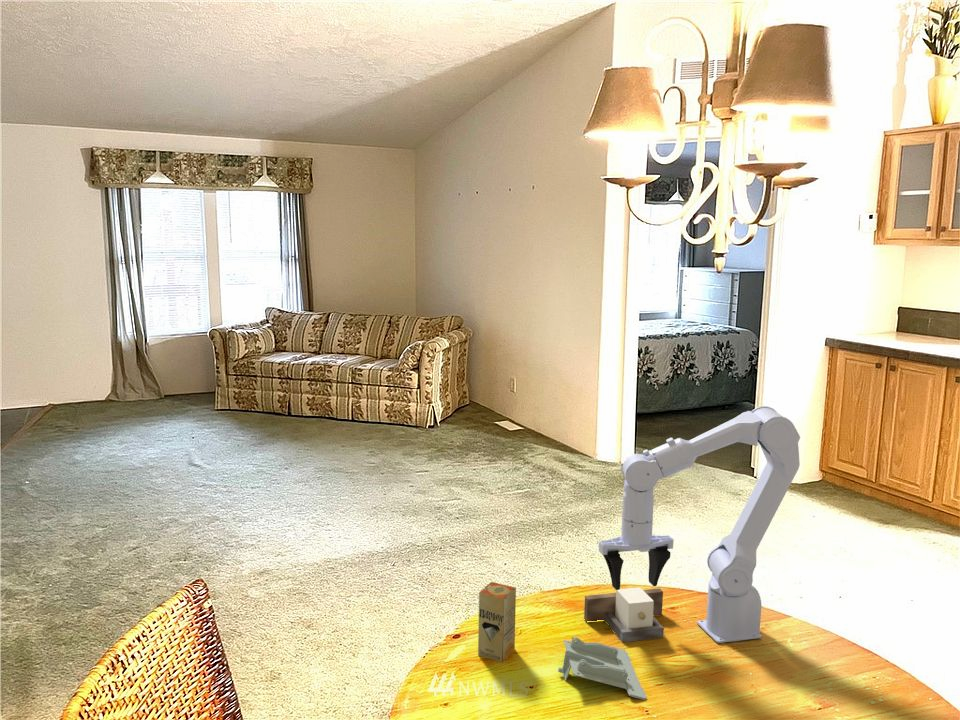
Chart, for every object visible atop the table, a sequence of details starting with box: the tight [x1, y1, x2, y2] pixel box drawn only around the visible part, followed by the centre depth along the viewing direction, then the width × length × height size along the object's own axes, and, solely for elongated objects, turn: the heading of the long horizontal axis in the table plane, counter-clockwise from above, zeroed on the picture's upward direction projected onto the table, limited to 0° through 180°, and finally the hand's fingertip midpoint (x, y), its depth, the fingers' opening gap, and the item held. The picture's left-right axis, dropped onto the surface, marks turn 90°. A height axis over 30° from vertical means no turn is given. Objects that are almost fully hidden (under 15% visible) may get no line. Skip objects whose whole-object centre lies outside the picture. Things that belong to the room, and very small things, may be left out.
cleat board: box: [583, 587, 665, 643], centre depth 149 cm, size 16×10×5 cm, turn 103°
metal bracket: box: [557, 636, 648, 701], centre depth 133 cm, size 14×6×15 cm
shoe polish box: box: [477, 581, 517, 663], centre depth 139 cm, size 5×5×12 cm
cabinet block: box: [615, 586, 654, 629], centre depth 148 cm, size 5×7×7 cm
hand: (634, 585), depth 148 cm, fingers open, 7 cm apart
